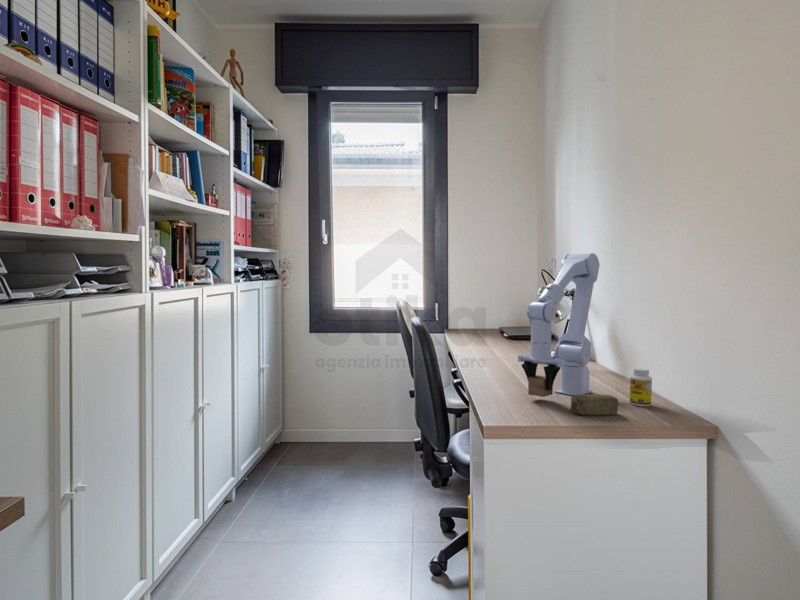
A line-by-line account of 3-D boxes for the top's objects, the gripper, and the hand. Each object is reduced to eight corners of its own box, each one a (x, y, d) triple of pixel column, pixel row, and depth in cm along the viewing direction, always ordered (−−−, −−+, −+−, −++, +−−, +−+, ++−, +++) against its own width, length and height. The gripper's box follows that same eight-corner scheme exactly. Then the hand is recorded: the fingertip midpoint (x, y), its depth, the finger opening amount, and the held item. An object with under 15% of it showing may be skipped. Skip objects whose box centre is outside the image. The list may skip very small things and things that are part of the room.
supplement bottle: (625, 403, 147) (626, 368, 146) (639, 401, 149) (639, 367, 149) (641, 408, 142) (642, 371, 141) (655, 406, 144) (656, 370, 144)
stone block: (619, 416, 133) (619, 397, 133) (576, 417, 133) (576, 398, 132) (609, 411, 139) (610, 392, 139) (568, 411, 138) (568, 393, 138)
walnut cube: (537, 391, 153) (537, 375, 153) (552, 394, 150) (552, 377, 149) (528, 394, 150) (528, 377, 150) (543, 397, 146) (543, 379, 146)
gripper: (512, 341, 152) (511, 386, 152) (556, 346, 141) (555, 394, 142) (525, 339, 157) (525, 383, 157) (569, 343, 146) (568, 390, 147)
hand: (540, 388), depth 150 cm, fingers closed on walnut cube, 5 cm apart
